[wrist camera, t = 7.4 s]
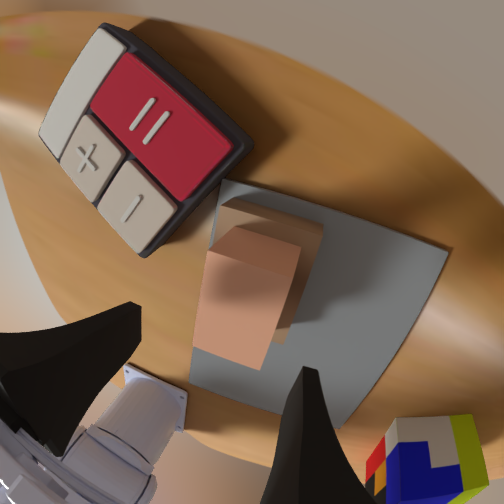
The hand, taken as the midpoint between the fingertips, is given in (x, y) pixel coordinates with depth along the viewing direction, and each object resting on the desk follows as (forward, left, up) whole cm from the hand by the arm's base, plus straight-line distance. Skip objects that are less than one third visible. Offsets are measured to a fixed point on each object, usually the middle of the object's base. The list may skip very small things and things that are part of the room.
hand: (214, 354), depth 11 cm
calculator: (+7, +12, -10) cm, 17 cm away
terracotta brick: (0, 0, -7) cm, 7 cm away
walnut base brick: (0, 0, -9) cm, 9 cm away
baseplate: (-5, -4, -10) cm, 12 cm away
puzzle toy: (-16, -23, -10) cm, 30 cm away
